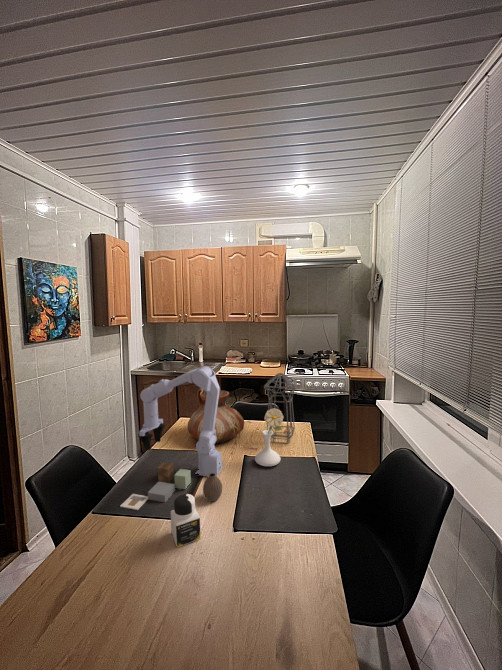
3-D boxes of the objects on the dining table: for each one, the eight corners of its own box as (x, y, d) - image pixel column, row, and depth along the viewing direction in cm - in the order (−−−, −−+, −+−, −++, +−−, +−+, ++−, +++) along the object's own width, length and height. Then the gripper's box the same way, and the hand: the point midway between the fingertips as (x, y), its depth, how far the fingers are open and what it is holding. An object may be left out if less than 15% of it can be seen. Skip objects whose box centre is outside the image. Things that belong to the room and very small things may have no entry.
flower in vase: (251, 466, 130) (250, 410, 128) (260, 454, 141) (259, 402, 138) (280, 472, 125) (279, 413, 123) (287, 459, 136) (287, 405, 133)
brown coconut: (225, 494, 111) (225, 472, 110) (216, 506, 104) (215, 482, 104) (209, 490, 114) (209, 468, 113) (199, 500, 107) (198, 477, 107)
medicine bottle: (176, 548, 86) (175, 509, 85) (171, 532, 92) (169, 495, 91) (200, 539, 89) (199, 501, 88) (193, 524, 96) (192, 488, 95)
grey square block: (175, 491, 114) (174, 484, 113) (165, 503, 107) (164, 495, 107) (158, 488, 115) (158, 481, 115) (148, 500, 109) (147, 492, 108)
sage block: (191, 483, 118) (190, 470, 118) (185, 490, 114) (185, 476, 113) (180, 482, 119) (180, 468, 119) (175, 488, 115) (174, 475, 114)
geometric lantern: (264, 445, 150) (262, 375, 148) (269, 432, 165) (267, 370, 163) (295, 447, 147) (294, 376, 144) (298, 434, 162) (297, 370, 160)
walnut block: (174, 476, 123) (173, 463, 123) (168, 482, 119) (168, 469, 118) (164, 475, 124) (163, 462, 124) (158, 481, 120) (157, 467, 120)
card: (149, 497, 110) (149, 496, 110) (137, 510, 103) (137, 508, 103) (133, 494, 111) (132, 493, 111) (120, 506, 105) (120, 505, 105)
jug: (250, 427, 172) (249, 384, 170) (235, 452, 143) (234, 401, 141) (201, 423, 179) (199, 382, 176) (177, 446, 150) (175, 397, 147)
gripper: (152, 408, 137) (154, 437, 138) (132, 420, 123) (134, 452, 124) (166, 409, 135) (168, 438, 136) (147, 421, 121) (148, 454, 122)
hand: (152, 445), depth 130 cm, fingers open, 7 cm apart
